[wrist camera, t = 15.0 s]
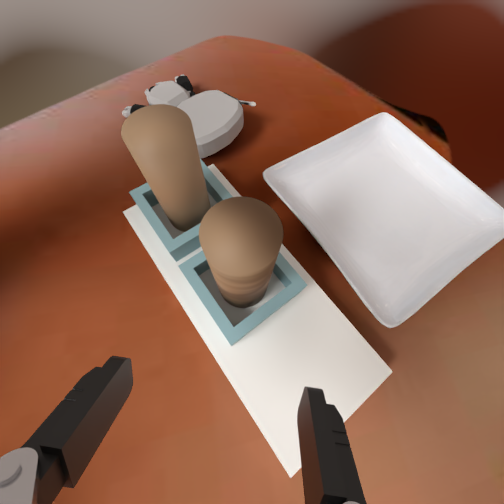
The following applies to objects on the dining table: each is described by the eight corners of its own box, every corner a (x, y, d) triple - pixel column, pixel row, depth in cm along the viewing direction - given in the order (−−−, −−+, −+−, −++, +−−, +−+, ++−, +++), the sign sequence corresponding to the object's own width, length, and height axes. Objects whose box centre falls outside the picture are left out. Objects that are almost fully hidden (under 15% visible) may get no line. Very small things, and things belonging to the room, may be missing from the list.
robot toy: (126, 132, 34) (198, 183, 30) (108, 101, 30) (188, 154, 26) (188, 92, 38) (259, 131, 34) (179, 59, 34) (260, 99, 29)
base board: (287, 468, 19) (353, 649, 8) (128, 218, 28) (45, 124, 16) (383, 370, 22) (534, 392, 11) (214, 172, 31) (196, 64, 19)
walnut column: (237, 318, 22) (231, 289, 12) (209, 279, 24) (182, 223, 13) (276, 288, 23) (300, 238, 13) (247, 252, 25) (249, 183, 15)
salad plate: (495, 235, 29) (527, 220, 26) (373, 335, 24) (393, 333, 21) (373, 128, 35) (386, 106, 32) (256, 190, 30) (258, 171, 27)
